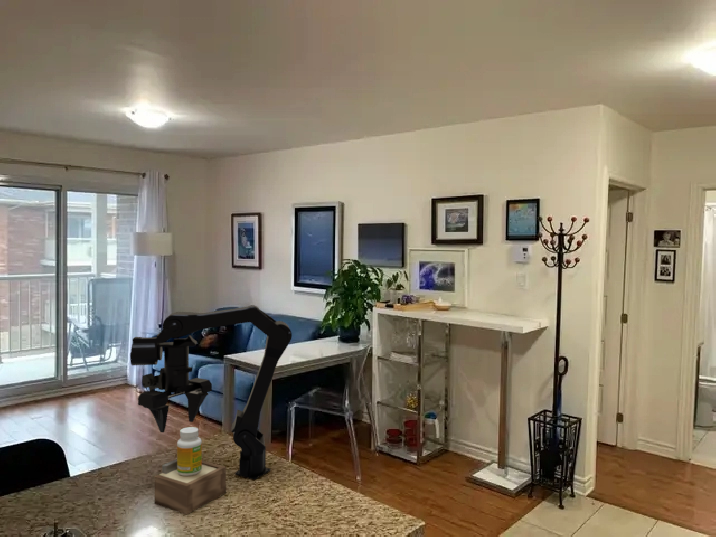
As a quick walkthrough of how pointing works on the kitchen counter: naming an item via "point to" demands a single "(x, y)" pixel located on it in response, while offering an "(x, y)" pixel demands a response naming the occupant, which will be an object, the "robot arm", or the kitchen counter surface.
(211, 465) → the box
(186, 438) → the supplement bottle
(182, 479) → the lid
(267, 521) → the kitchen counter surface
